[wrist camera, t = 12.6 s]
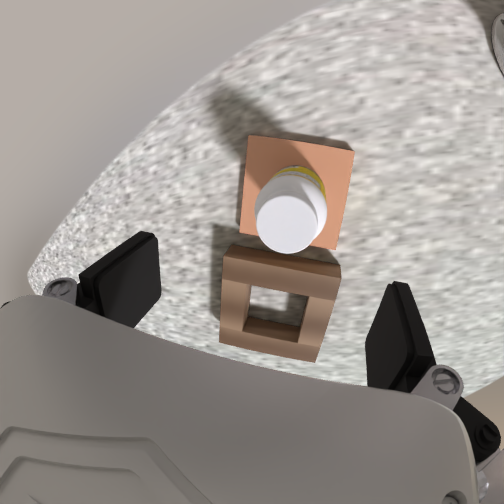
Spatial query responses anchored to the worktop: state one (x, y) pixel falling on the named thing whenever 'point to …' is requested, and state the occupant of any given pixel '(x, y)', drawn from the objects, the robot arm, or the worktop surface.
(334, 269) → the dispenser sleeve
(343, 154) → the coaster
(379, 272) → the worktop surface
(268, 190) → the supplement bottle
